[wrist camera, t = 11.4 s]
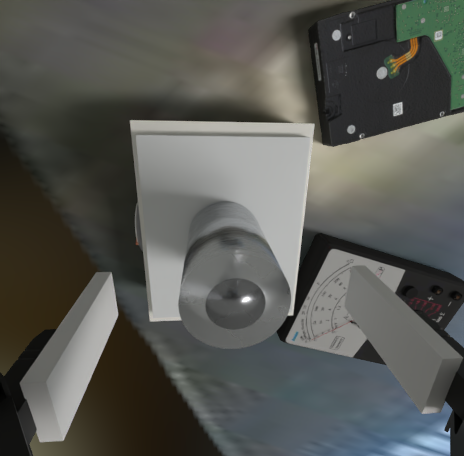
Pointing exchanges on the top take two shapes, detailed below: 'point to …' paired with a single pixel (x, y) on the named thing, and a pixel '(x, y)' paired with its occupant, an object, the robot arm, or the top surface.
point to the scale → (216, 192)
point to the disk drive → (387, 67)
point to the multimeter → (335, 289)
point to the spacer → (231, 279)
